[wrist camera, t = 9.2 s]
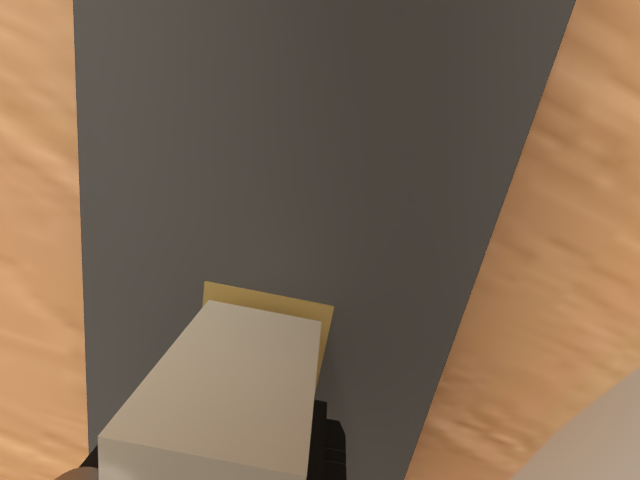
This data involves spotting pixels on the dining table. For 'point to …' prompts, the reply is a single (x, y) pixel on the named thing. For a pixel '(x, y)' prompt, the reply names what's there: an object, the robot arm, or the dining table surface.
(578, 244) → the dining table surface
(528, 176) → the dining table surface
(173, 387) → the block
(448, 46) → the board
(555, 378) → the dining table surface
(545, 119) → the dining table surface
